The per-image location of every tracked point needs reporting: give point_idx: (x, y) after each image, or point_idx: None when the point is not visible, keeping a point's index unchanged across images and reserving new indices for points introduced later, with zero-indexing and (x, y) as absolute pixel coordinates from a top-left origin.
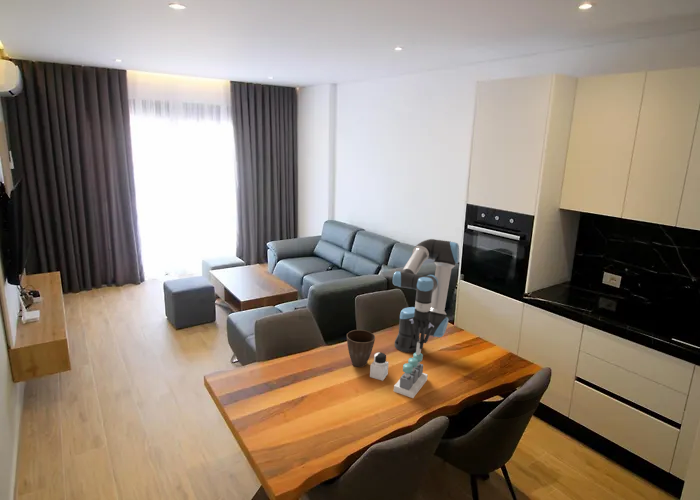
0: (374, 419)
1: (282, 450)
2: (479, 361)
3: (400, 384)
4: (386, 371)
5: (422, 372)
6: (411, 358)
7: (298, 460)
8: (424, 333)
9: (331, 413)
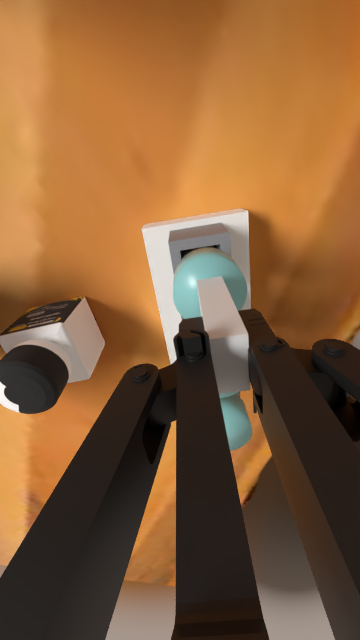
0: None
1: (138, 564)
2: None
3: None
4: (85, 324)
5: (221, 224)
6: None
7: (170, 563)
8: (358, 469)
9: None
